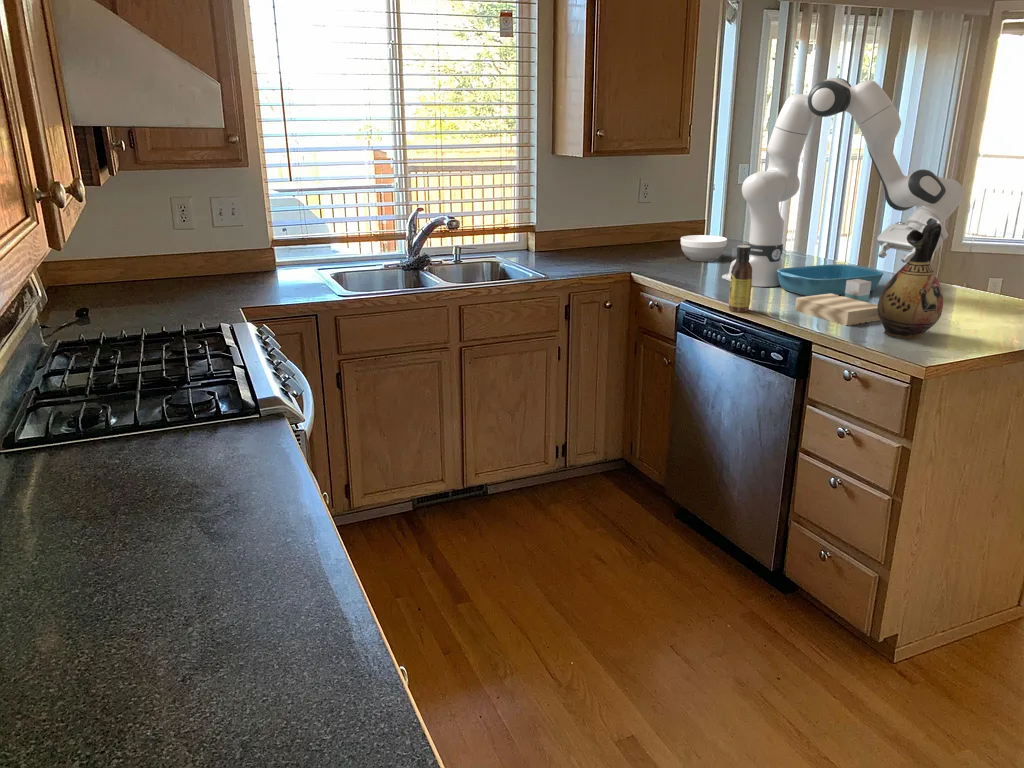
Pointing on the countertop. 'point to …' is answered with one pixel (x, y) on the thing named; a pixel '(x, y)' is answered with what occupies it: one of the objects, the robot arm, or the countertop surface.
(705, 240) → the bowl
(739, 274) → the sauce bottle
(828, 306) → the wooden block
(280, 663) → the countertop surface
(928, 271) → the ceramic jug
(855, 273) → the casserole dish
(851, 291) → the white and teal block
